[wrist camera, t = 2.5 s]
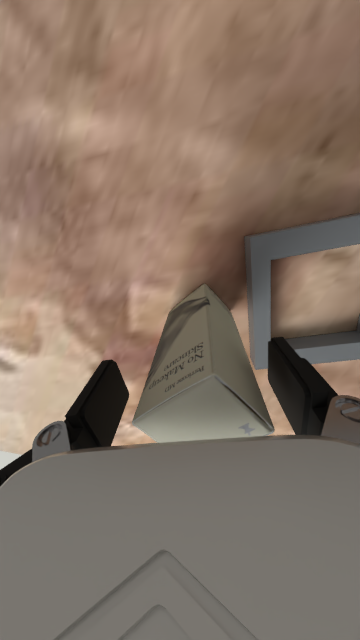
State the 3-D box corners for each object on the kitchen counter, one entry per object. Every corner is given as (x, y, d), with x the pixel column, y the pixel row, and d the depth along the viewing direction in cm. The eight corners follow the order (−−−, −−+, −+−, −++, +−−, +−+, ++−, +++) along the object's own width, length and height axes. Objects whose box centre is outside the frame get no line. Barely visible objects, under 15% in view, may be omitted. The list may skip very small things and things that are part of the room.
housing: (500, 184, 14) (546, 177, 12) (436, 337, 19) (461, 349, 17) (244, 236, 16) (250, 237, 15) (250, 358, 22) (255, 369, 20)
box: (204, 280, 18) (220, 367, 7) (232, 312, 19) (285, 433, 8) (166, 313, 20) (125, 426, 8) (193, 340, 21) (189, 472, 10)
